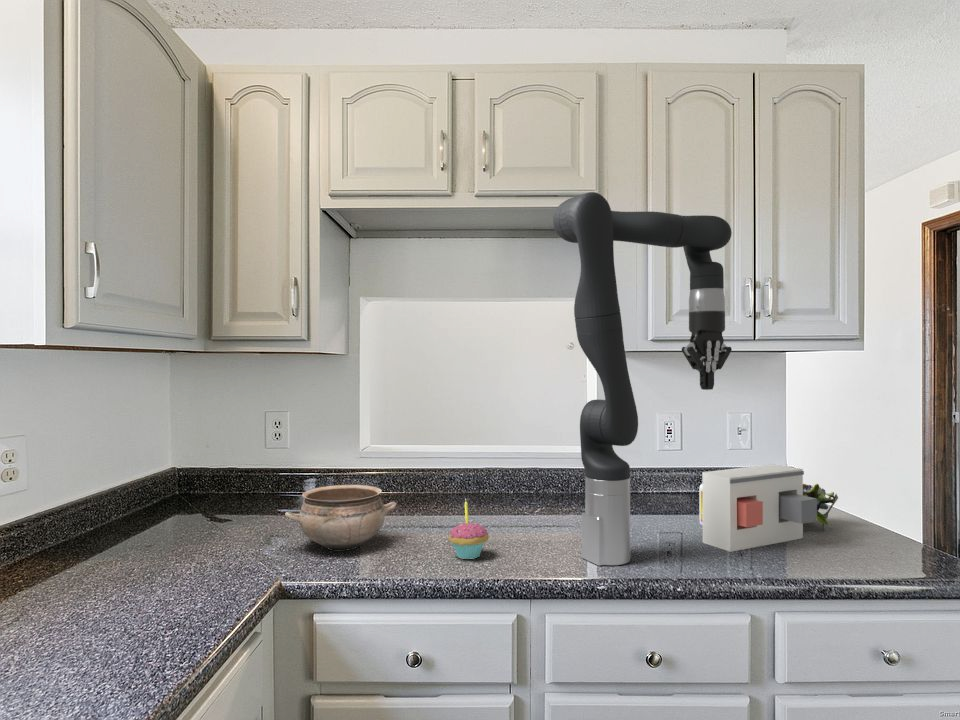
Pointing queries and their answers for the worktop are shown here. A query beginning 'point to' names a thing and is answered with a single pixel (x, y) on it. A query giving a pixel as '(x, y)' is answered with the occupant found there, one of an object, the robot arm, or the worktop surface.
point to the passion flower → (820, 500)
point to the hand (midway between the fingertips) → (707, 389)
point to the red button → (749, 512)
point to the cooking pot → (341, 515)
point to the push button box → (754, 485)
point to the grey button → (798, 508)
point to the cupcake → (468, 538)
